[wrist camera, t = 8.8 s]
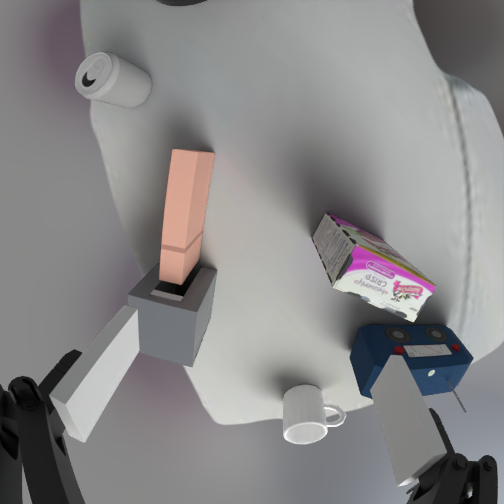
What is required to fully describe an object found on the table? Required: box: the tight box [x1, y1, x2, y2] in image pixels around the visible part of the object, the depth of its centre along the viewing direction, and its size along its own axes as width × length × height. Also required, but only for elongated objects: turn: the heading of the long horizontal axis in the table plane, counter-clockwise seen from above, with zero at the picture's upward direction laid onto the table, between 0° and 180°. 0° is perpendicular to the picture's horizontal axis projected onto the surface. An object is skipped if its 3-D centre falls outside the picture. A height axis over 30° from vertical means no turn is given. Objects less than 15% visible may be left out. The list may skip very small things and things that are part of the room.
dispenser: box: [128, 262, 217, 367], centre depth 39 cm, size 9×9×12 cm
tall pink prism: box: [159, 149, 215, 285], centre depth 35 cm, size 16×3×9 cm, turn 169°
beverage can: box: [75, 52, 152, 108], centre depth 29 cm, size 6×6×12 cm
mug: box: [283, 385, 346, 444], centre depth 46 cm, size 8×12×10 cm
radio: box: [350, 324, 473, 412], centre depth 36 cm, size 21×9×20 cm, turn 85°
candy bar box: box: [312, 212, 436, 322], centre depth 32 cm, size 11×5×16 cm, turn 67°
